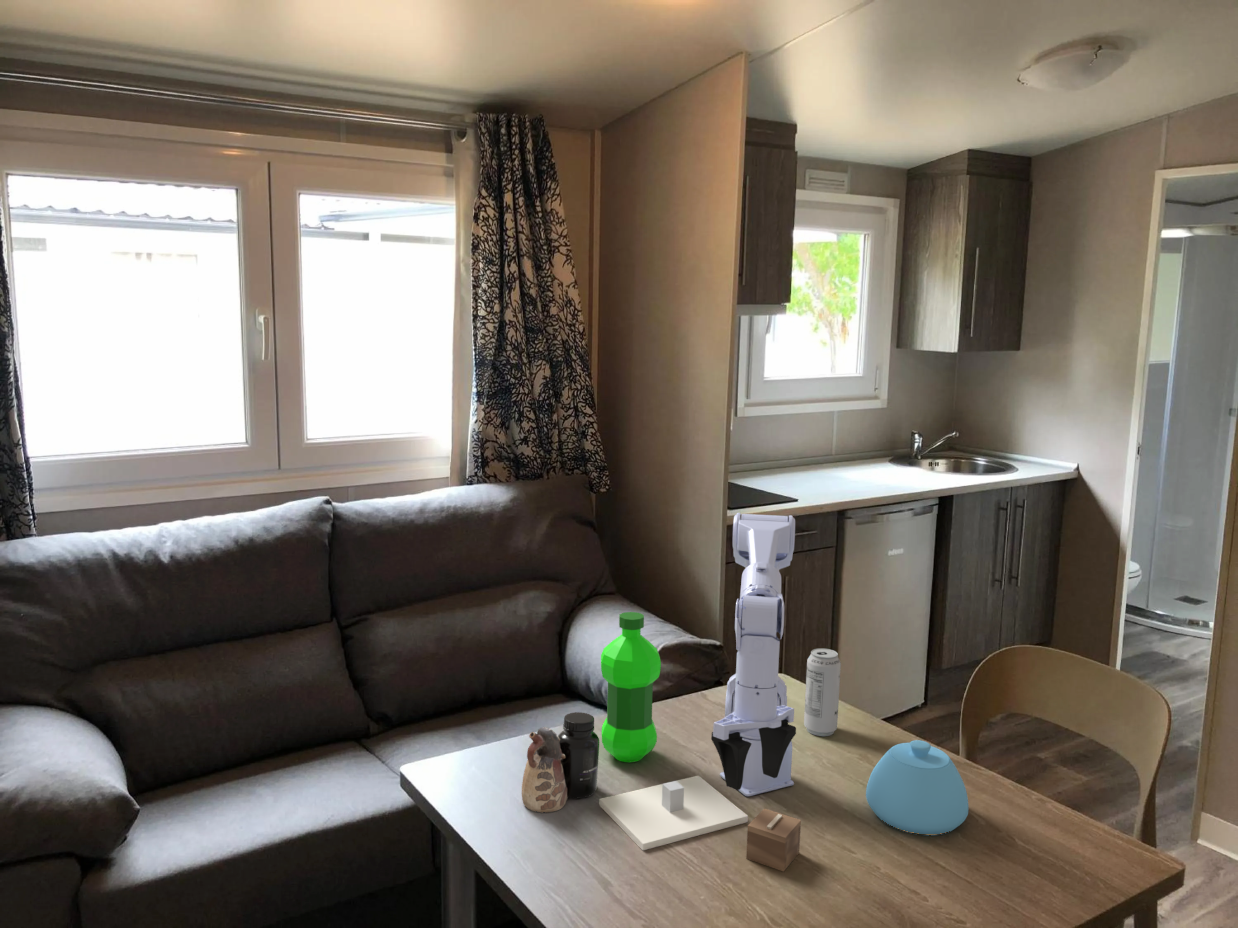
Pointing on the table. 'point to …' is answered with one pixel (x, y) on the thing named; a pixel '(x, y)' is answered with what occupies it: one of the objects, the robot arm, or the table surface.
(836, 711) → the energy drink can
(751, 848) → the walnut knob
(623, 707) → the plastic bottle
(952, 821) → the sugar bowl
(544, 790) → the figurine
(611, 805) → the board
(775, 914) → the table surface
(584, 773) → the supplement bottle
